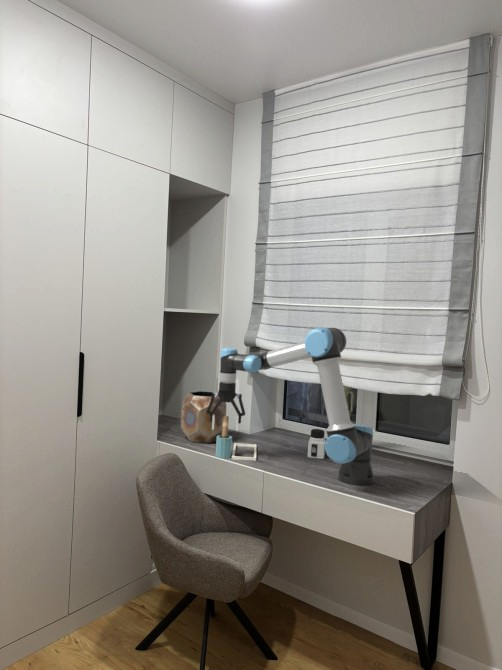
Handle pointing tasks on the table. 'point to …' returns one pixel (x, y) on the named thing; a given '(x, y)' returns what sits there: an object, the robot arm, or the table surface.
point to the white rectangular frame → (244, 457)
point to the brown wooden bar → (225, 426)
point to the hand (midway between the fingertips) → (225, 429)
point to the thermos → (349, 401)
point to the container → (316, 444)
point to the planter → (201, 417)
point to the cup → (223, 446)
